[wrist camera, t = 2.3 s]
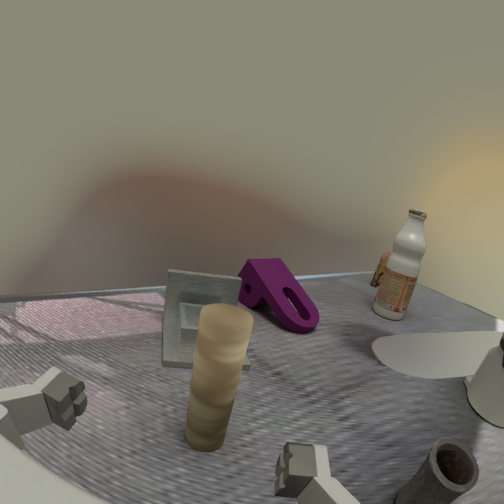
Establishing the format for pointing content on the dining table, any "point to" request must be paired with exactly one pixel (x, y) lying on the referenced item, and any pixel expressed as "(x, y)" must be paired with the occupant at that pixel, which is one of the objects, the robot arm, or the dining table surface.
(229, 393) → the tan wooden cylinder
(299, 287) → the mounting bracket
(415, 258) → the fruit juice
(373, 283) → the ammunition clip
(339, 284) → the dining table surface
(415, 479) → the pipe
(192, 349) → the cup bracket
